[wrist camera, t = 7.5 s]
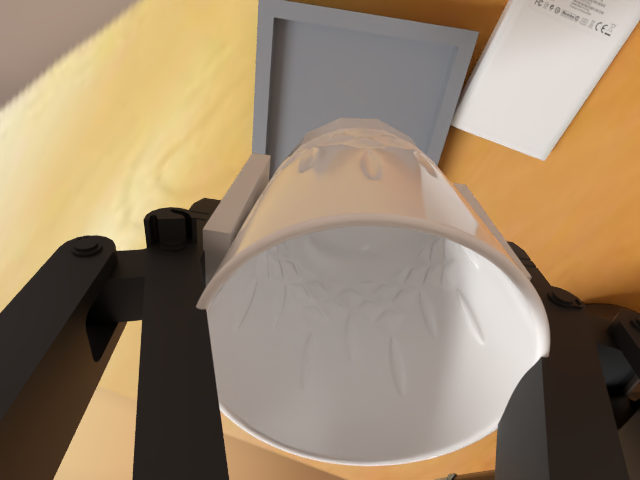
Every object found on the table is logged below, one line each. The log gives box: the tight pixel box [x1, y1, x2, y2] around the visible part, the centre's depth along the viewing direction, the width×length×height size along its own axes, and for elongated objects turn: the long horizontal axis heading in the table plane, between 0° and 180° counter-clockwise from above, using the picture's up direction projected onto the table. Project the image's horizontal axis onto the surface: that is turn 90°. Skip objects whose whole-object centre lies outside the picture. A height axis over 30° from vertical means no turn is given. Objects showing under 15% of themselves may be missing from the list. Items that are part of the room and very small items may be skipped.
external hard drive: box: [450, 0, 640, 161], centre depth 26 cm, size 2×8×12 cm
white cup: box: [196, 118, 550, 466], centre depth 13 cm, size 8×8×10 cm
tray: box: [252, 0, 479, 181], centre depth 28 cm, size 14×14×2 cm
